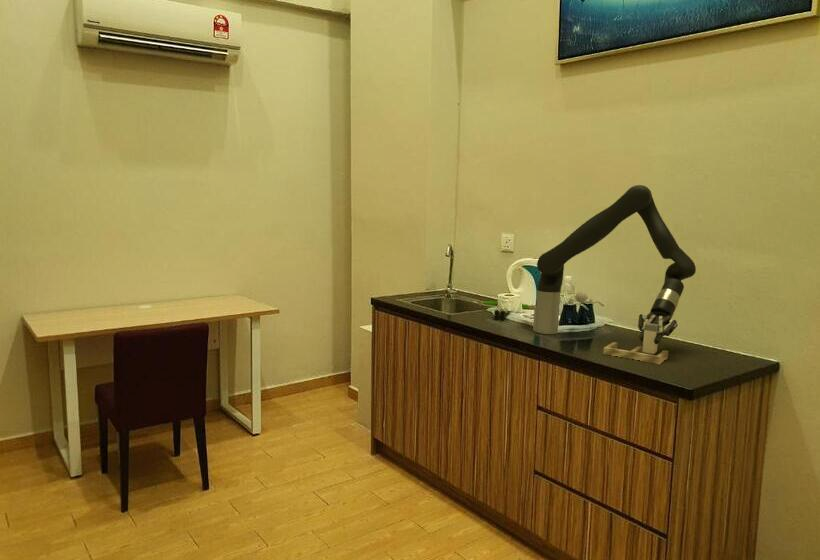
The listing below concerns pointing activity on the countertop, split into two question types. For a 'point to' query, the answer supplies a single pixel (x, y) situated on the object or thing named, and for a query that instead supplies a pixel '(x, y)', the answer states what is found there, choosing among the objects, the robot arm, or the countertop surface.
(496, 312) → the figurine
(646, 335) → the cream lidded container
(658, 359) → the comb rack
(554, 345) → the countertop surface
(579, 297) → the toy
